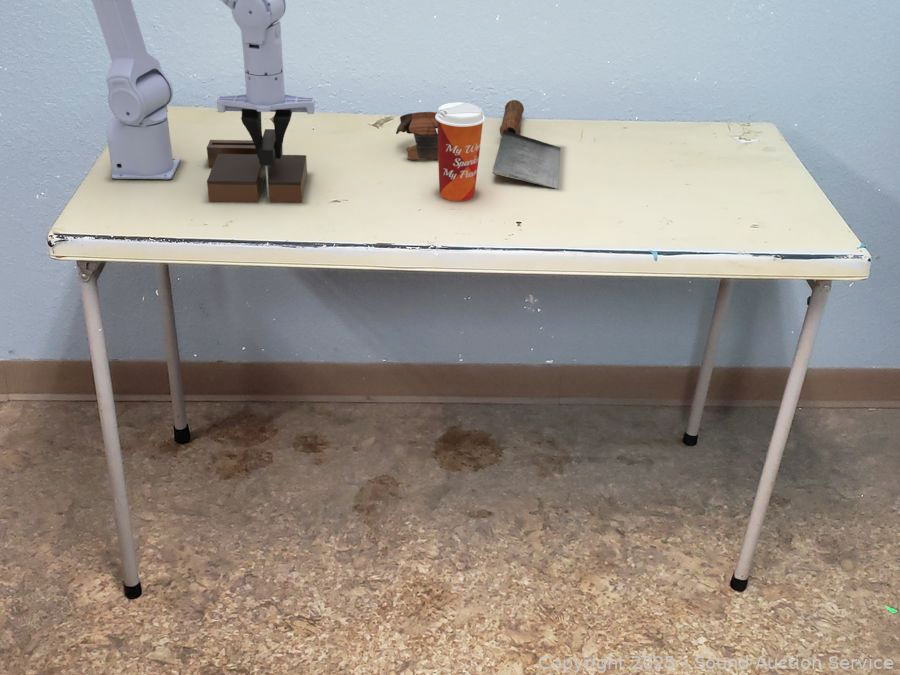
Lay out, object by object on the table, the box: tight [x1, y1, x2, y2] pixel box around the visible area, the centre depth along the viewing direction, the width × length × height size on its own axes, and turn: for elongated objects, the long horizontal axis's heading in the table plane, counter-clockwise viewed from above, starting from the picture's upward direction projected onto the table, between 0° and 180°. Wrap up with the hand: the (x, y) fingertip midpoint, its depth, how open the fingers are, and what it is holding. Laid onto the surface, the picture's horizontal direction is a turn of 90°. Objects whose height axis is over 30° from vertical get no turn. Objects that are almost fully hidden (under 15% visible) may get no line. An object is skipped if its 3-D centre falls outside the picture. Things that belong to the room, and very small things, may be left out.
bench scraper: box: [258, 128, 276, 198], centre depth 150 cm, size 10×2×8 cm, turn 3°
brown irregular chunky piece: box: [395, 111, 438, 161], centre depth 167 cm, size 12×10×8 cm
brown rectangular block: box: [268, 154, 308, 204], centre depth 152 cm, size 5×11×4 cm, turn 3°
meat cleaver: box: [491, 99, 562, 190], centre depth 170 cm, size 34×11×4 cm, turn 174°
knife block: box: [206, 139, 284, 168], centre depth 160 cm, size 12×4×4 cm, turn 93°
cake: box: [206, 154, 266, 203], centre depth 151 cm, size 8×11×4 cm
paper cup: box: [435, 102, 486, 202], centre depth 149 cm, size 8×8×14 cm
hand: (269, 156), depth 150 cm, fingers closed on bench scraper, 2 cm apart
